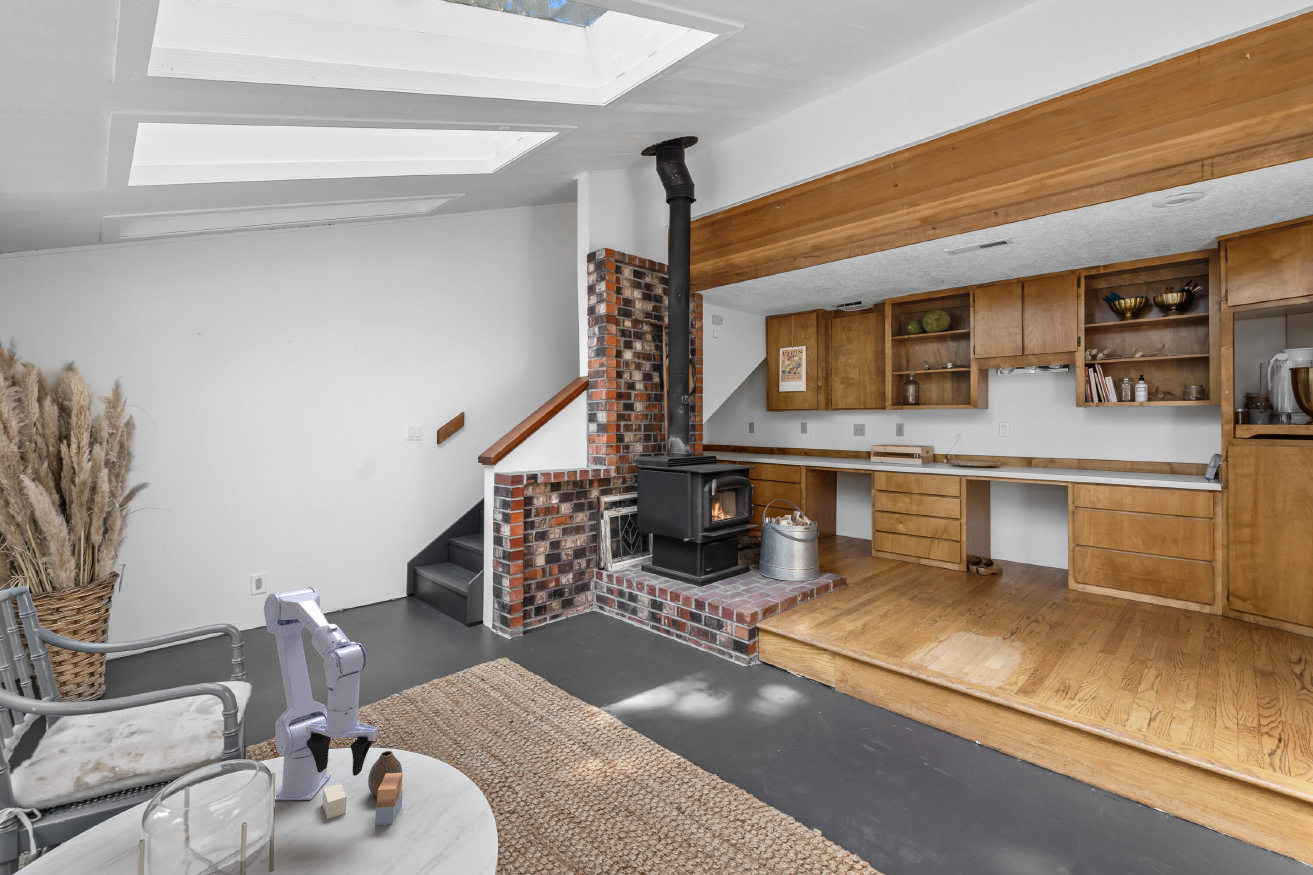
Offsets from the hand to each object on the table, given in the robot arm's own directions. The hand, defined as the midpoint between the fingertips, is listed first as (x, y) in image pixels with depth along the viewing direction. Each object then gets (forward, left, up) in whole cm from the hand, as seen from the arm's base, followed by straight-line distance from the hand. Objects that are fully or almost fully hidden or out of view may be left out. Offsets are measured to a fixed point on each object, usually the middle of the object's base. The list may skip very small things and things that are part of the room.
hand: (339, 771), depth 121 cm
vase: (-8, +6, -10) cm, 14 cm away
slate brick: (0, +10, -10) cm, 14 cm away
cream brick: (-3, -2, -10) cm, 10 cm away
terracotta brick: (0, +10, -6) cm, 12 cm away
